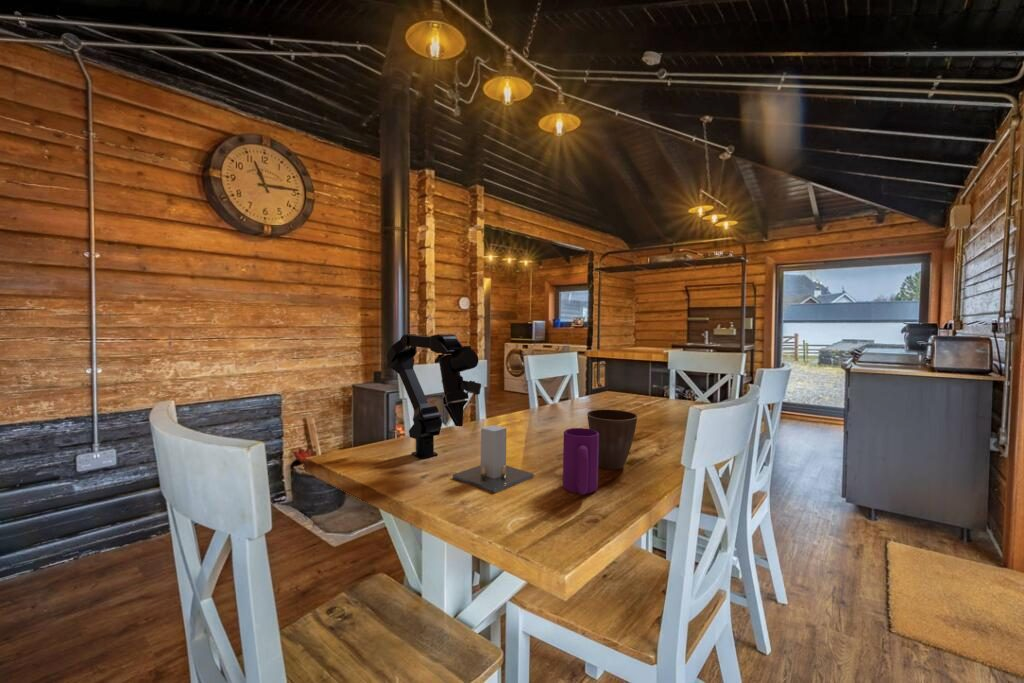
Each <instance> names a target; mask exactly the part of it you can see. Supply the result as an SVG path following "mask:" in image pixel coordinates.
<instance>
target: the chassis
mask: <svg viewBox="0 0 1024 683" xmlns="http://www.w3.org/2000/svg"><path fill="white" fill-rule="evenodd" d="M532 478H534V473H532V472H529V471H526V470H523V469H519V468H516V467H513V466H509V465H506V467H505V466H502V467H501V476H499V477H497V478H494V479H493V478H490V477H487V476H486V467H485V466H483V467H482V475H481V464H480V465H477V466H474V467H471V468H469V469H465V470H463V471H459V472H457V473H454V474H452V479H453V480H456V481H460V482H462V483H464V484H468V485H470V486H472V487H475V488H478V489H482V490H484V491H487V492H490V493H492V494H497V493H499V492H501V491H504V490H506V489H508V488H511V487H514V486H516V485H518V484H521V483H523V482H525V481H528V480H530V479H532Z"/></svg>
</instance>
